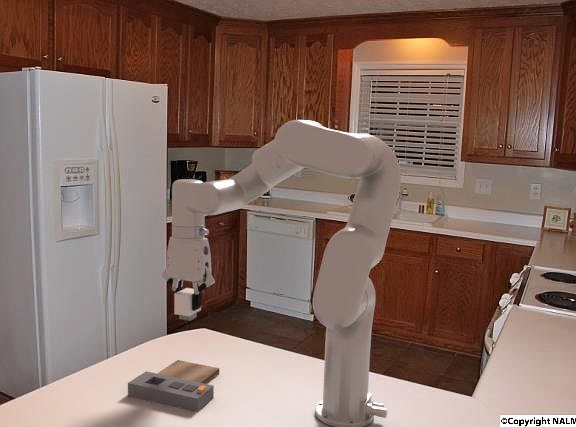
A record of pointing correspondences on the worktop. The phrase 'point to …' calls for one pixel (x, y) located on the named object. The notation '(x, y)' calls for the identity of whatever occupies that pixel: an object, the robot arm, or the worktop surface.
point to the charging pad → (191, 371)
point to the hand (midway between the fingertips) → (187, 306)
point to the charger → (184, 304)
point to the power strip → (171, 391)
